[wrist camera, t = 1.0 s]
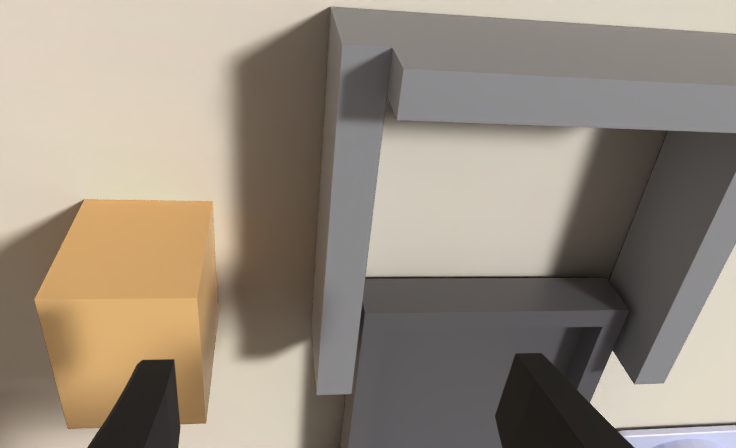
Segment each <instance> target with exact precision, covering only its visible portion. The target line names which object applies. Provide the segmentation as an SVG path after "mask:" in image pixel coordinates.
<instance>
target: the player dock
mask: <svg viewBox="0 0 736 448" xmlns="http://www.w3.org/2000/svg"><path fill="white" fill-rule="evenodd" d="M387 97H388V100H389V102H390V105H391V107H392V109H393V112H394V114H395V117H396V119H397V120H407V121H433V122H459V123H486V124H512V125H538V126H564V127H590V128H616V129H642V130H668V132H667V135H666V137H665V140H664V142H663V145H662V148H661V150H660V153H659V155H658V158H657V160H656V163H655V165H654V168H653V170H652V173H651V175H650V178H649V181H648V183H647V186H646V188H645V191H644V193H643V196H642V198H641V201H640V203H639V206H638V209H637V211H636V214H635V216H634V219H633V221H632V224H631V226H630V229H629V231H628V234H627V236H626V239H625V242H624V244H623V247H622V249H621V252H620V254H619V257H618V259H617V262H616V264H615V267H614V270H613V272H612V275H611V277H610V280H609V282H610V284H611V285H612V286H613V288H614V289H615V291H616V292H617V293H618V295H619V296H620V297H621V299H622V300H623V302H624V303H625V304H626V306H627V307H628V308H629V313H628V315H627V317H626V320H625V322H624V324H623V327H622V329H621V331H620V333H619V336H618V338H617V340H616V343H615V345H614V347H613V352H614V353H615V355H616V356H617V358H618V359H619V361H620V363H621V364H622V366H623V367H624V369H625V370H626V372H627V374H628V375H629V377H630V378H631V380H632V381H633V383H634V384H657V383H664V382H665V380H666V378H667V376H668V374H669V372H670V370H671V368H672V366H673V364H674V362H675V360H676V358H677V357H678V355H679V353H680V351H681V349H682V347H683V345H684V343H685V341H686V339H687V337H688V335H689V333H690V331H691V329H692V327H693V325H694V324H695V322H696V320H697V318H698V316H699V314H700V312H701V310H702V308H703V306H704V304H705V302H706V300H707V298H708V296H709V294H710V292H711V290H712V289H713V287H714V285H715V283H716V281H717V279H718V277H719V275H720V273H721V271H722V269H723V267H724V265H725V263H726V261H727V259H728V257H729V255H730V254H731V252H732V250H733V248H734V246H735V244H736V34H728V33H713V32H699V31H684V30H669V29H654V28H639V27H624V26H609V25H595V24H580V23H565V22H550V21H535V20H520V19H506V18H491V17H476V16H461V15H446V14H431V13H416V12H402V11H387V10H372V9H357V8H342V7H331V10H330V26H329V43H328V59H327V75H326V92H325V108H324V124H323V141H322V157H321V174H320V190H319V206H318V223H317V239H316V255H315V272H314V288H313V304H312V321H311V328H312V342H313V355H314V369H315V382H316V395H339V394H351V393H352V385H353V376H354V368H355V360H356V351H357V343H358V334H359V326H360V317H361V309H362V301H363V292H364V284H365V275H366V267H367V258H368V250H369V241H370V233H371V225H372V216H373V208H374V199H375V191H376V182H377V174H378V165H379V157H380V149H381V140H382V132H383V123H384V115H385V106H386V98H387Z"/></svg>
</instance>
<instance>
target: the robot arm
mask: <svg viewBox="0 0 736 448" xmlns="http://www.w3.org/2000/svg"><path fill="white" fill-rule="evenodd" d="M495 419H496V423H497V428H498V432H499V436H500V441H501V444H502V448H736V425H727V426H705V427H684V428H663V429H642V430H623V431H617V430H616V429H615V428H614V427H613V426H612V425H611V424H610V423H609V422H608V421H607V420H606V419H605V418H604V417H603V416H602V415H601V414H600V413H599V412H598V411H597V410H596V409H595V408H594V407H593V406H592V405H591V404H590V403H589V402H588V401H587V400H586V399H585V398H584V397H583V396H582V395H581V394H580V393H579V391H578V390H577V389H576V388H575V387H574V386H573V385H572V384H571V383H570V382H569V381H568V380H567V379H566V378H565V377H564V376H563V375H562V374H561V372H560V371H559V370H558V369H557V368H556V367H555V366H554V365H553V364H552V363H551V362H550V361H549V360H548V359H547V358H546V357H545V356H544V355H543V354H542V353H515V356H514V359H513V363H512V366H511V369H510V372H509V375H508V378H507V381H506V384H505V387H504V390H503V393H502V396H501V399H500V402H499V405H498V408H497V411H496V414H495ZM179 434H180V418H179V407H178V395H177V384H176V372H175V361H174V359H159V360H142V361H140V362H139V363H138V364H137V365H136V367H135V369H134V371H133V373H132V375H131V377H130V379H129V381H128V383H127V385H126V386H125V388H124V390H123V392H122V394H121V395H120V397H119V399H118V400H117V402H116V404H115V405H114V407H113V409H112V410H111V412H110V414H109V415H108V417H107V419H106V420H105V422H104V423H103V425H102V426H101V428H100V429H99V431H98V432H97V434H96V435H95V437H94V438H93V440H92V441H91V443H90V445H89V446H88V448H178V444H179Z"/></svg>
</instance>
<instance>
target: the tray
mask: <svg viewBox="0 0 736 448" xmlns="http://www.w3.org/2000/svg"><path fill="white" fill-rule="evenodd" d="M628 313H629V308H628V307H627V306H626V304H625V303H624V302H623V300H622V299H621V297H620V296H619V295H618V293H617V292H616V291H615V289H614V288H613V286H612V285H611V284H610V282H609V281H608V280H607V278H422V279H365V284H364V292H363V301H362V309H361V317H360V326H359V334H358V343H357V351H356V360H355V368H354V376H353V385H352V393H351V394H346V396H345V405H344V414H343V423H342V432H341V441H340V448H502V444H501V441H500V436H499V432H498V428H497V423H496V419H495V414H496V411H497V408H498V405H499V402H500V399H501V396H502V393H503V390H504V387H505V384H506V381H507V378H508V375H509V372H510V369H511V366H512V363H513V359H514V356H515V353H542V354H543V355H544V356H545V357H546V358H547V359H548V360H549V361H550V362H551V363H552V364H553V365H554V366H555V367H556V368H557V369H558V370H559V371H560V372H561V374H562V375H563V376H564V377H565V378H566V379H567V380H568V381H569V382H570V383H571V384H572V385H573V386H574V387H575V388H576V389H577V390H578V391H579V393H580V394H581V395H582V396H583V397H584V398H585V399H586V400H587V401H588V402H589V403H590V401H591V398H592V396H593V394H594V392H595V389H596V387H597V385H598V382H599V380H600V378H601V375H602V373H603V371H604V368H605V366H606V364H607V361H608V359H609V357H610V354H611V352H612V350H613V347H614V345H615V343H616V340H617V338H618V336H619V333H620V331H621V329H622V327H623V324H624V322H625V320H626V317H627V315H628Z"/></svg>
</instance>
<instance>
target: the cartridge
mask: <svg viewBox="0 0 736 448" xmlns="http://www.w3.org/2000/svg"><path fill="white" fill-rule="evenodd" d="M34 300H35V304H36V308H37V312H38V316H39V320H40V323H41V327H42V331H43V335H44V339H45V343H46V347H47V350H48V354H49V358H50V362H51V366H52V370H53V374H54V378H55V381H56V385H57V389H58V393H59V397H60V401H61V405H62V408H63V412H64V416H65V420H66V424H67V428H68V429H77V428H101V426H102V425H103V423H104V422H105V420H106V419H107V417H108V415H109V414H110V412H111V410H112V409H113V407H114V405H115V404H116V402H117V400H118V399H119V397H120V395H121V394H122V392H123V390H124V388H125V386H126V385H127V383H128V381H129V379H130V377H131V375H132V373H133V371H134V369H135V367H136V365H137V364H138V363H139V362H140V361H142V360H159V359H174V361H175V372H176V384H177V395H178V407H179V418H180V424H201V423H206V420H207V411H208V402H209V394H210V385H211V376H212V367H213V358H214V349H215V340H216V331H217V323H218V299H217V279H216V258H215V237H214V217H213V201H158V200H95V199H84V201H83V203H82V205H81V207H80V209H79V211H78V213H77V215H76V217H75V219H74V221H73V223H72V225H71V227H70V229H69V231H68V233H67V235H66V237H65V239H64V241H63V243H62V245H61V247H60V249H59V251H58V253H57V255H56V257H55V259H54V261H53V263H52V265H51V267H50V269H49V271H48V273H47V275H46V277H45V279H44V281H43V283H42V285H41V287H40V289H39V291H38V293H37V295H36V297H35V299H34Z"/></svg>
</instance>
